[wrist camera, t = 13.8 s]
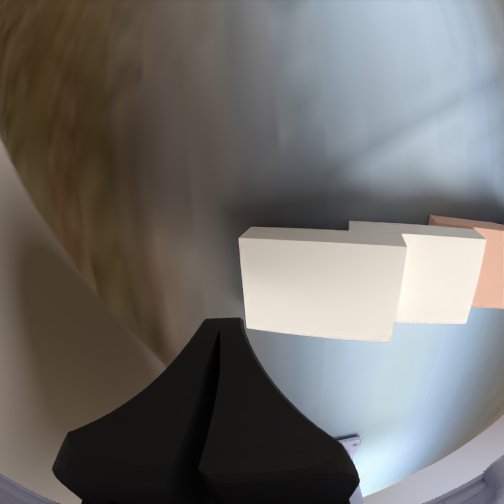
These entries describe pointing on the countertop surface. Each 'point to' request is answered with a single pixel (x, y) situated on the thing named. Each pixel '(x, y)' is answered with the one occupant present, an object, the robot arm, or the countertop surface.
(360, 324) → the domino
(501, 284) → the domino
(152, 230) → the countertop surface
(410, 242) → the domino
